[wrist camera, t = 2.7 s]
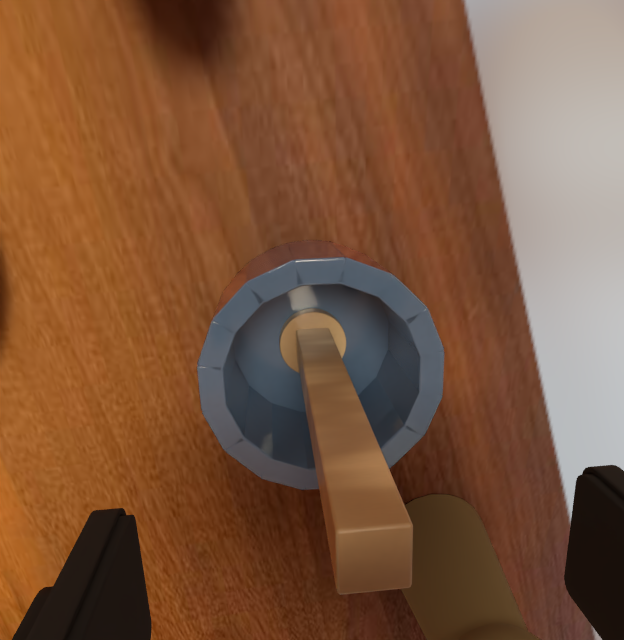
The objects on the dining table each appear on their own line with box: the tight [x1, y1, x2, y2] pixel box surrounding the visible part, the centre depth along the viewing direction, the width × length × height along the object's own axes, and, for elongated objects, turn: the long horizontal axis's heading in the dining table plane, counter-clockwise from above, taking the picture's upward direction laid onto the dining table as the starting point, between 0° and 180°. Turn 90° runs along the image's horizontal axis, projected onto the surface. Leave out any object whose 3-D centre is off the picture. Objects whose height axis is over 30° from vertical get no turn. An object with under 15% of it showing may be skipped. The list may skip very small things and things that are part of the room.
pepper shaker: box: [401, 494, 541, 640], centre depth 24 cm, size 6×6×11 cm
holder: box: [197, 240, 444, 490], centre depth 22 cm, size 10×10×6 cm
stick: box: [279, 308, 413, 595], centre depth 17 cm, size 3×3×15 cm
